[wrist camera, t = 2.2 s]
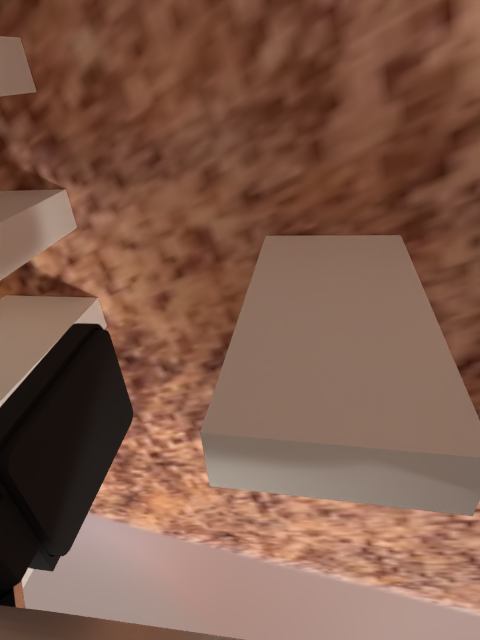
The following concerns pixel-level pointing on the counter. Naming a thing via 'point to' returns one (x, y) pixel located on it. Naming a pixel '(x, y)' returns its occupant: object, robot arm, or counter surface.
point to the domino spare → (342, 383)
